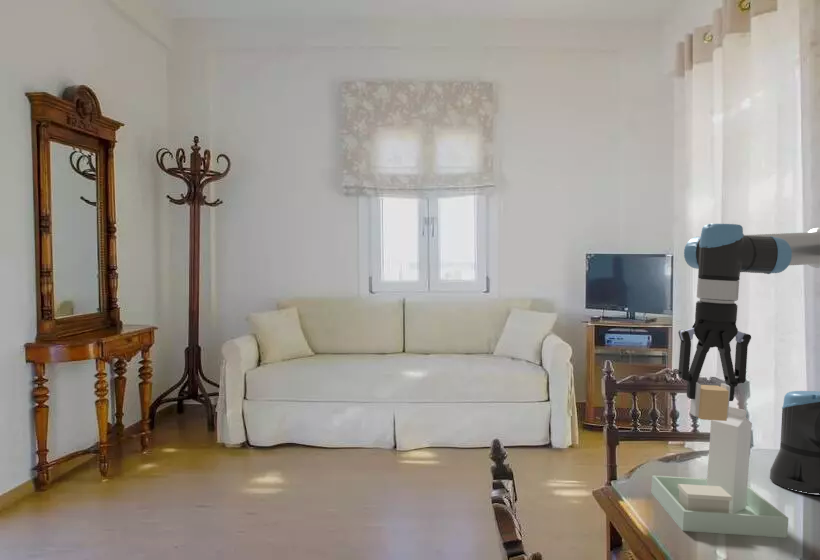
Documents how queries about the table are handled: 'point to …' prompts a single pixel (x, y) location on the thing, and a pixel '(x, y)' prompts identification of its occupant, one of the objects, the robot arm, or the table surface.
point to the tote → (749, 521)
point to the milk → (730, 456)
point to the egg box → (704, 498)
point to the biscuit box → (713, 403)
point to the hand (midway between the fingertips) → (708, 415)
